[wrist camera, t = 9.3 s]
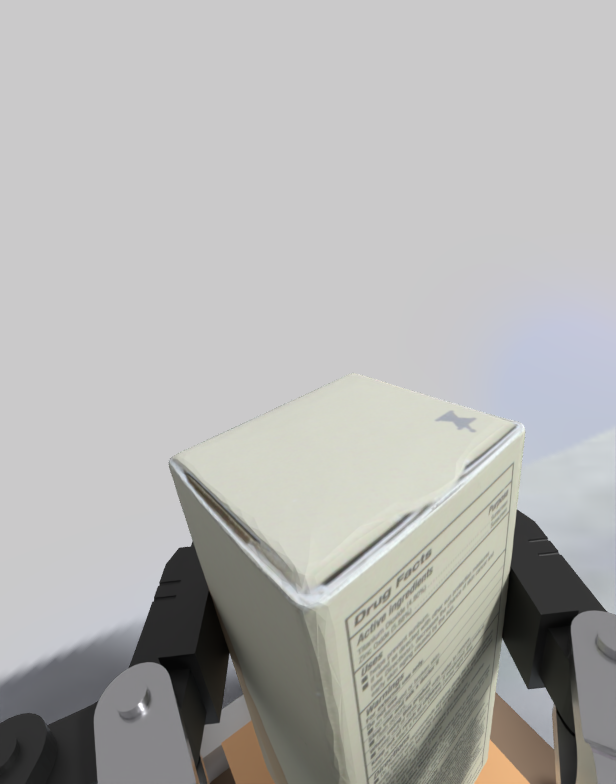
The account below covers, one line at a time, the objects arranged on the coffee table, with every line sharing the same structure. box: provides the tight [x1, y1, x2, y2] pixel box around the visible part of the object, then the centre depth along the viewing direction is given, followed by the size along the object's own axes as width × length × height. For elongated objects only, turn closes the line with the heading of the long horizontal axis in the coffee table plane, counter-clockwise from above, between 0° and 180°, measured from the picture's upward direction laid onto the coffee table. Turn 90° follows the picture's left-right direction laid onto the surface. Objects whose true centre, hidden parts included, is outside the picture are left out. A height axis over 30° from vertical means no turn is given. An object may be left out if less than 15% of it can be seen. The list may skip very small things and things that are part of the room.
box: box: [169, 373, 525, 784], centre depth 9 cm, size 5×4×11 cm
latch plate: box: [221, 720, 530, 784], centre depth 12 cm, size 7×7×1 cm
